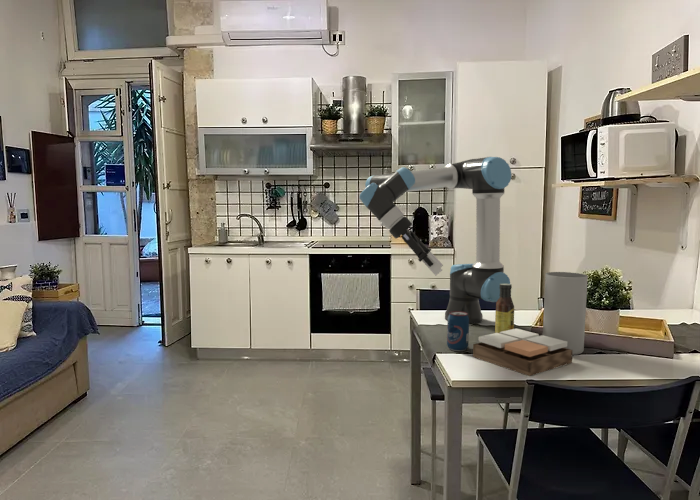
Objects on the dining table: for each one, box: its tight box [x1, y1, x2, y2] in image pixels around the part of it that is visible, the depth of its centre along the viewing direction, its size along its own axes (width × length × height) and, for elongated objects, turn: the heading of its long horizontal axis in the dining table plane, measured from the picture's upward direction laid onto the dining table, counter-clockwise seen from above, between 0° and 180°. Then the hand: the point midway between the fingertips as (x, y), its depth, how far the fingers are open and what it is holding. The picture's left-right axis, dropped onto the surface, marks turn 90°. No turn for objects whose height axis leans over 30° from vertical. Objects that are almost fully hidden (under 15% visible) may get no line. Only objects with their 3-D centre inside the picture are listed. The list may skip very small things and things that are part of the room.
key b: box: [478, 332, 519, 348], centre depth 154 cm, size 8×8×2 cm
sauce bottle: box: [494, 283, 515, 334], centre depth 173 cm, size 7×6×20 cm
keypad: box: [472, 342, 573, 377], centre depth 153 cm, size 21×21×4 cm
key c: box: [526, 334, 567, 351], centre depth 151 cm, size 8×8×2 cm
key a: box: [500, 328, 540, 341], centre depth 159 cm, size 8×8×2 cm
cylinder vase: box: [542, 271, 589, 356], centre depth 162 cm, size 12×12×25 cm
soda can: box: [446, 311, 470, 352], centre depth 163 cm, size 7×7×12 cm
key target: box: [505, 340, 548, 357], centre depth 145 cm, size 8×8×2 cm
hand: (439, 270), depth 164 cm, fingers open, 13 cm apart
